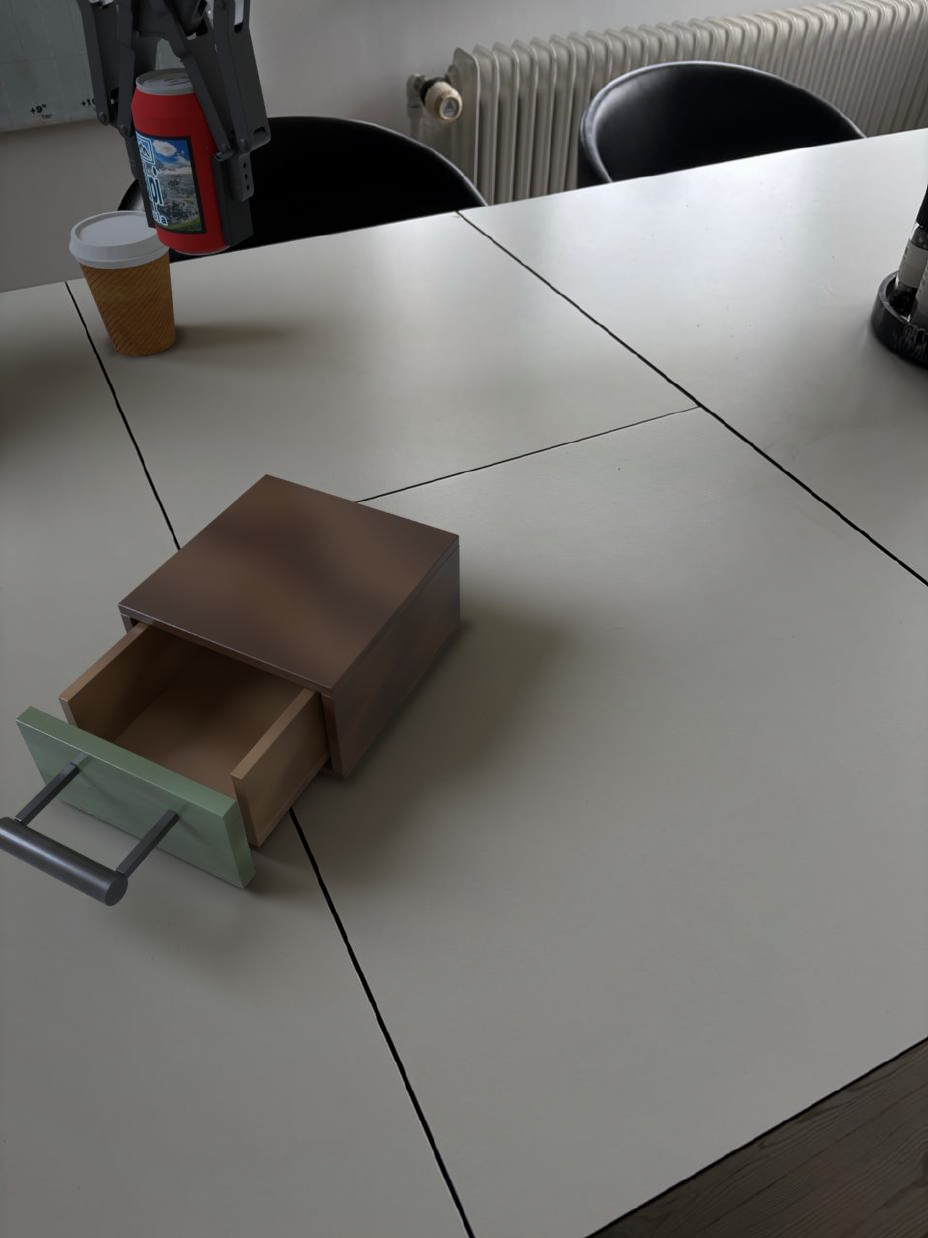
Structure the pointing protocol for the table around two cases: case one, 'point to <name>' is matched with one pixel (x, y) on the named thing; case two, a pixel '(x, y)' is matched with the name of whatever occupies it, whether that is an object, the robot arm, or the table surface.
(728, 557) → the table surface
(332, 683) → the cabinet
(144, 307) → the disposable coffee cup
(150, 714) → the drawer
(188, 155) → the beverage can
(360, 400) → the table surface
